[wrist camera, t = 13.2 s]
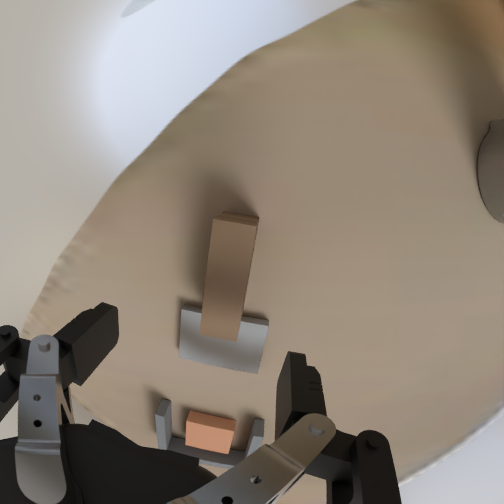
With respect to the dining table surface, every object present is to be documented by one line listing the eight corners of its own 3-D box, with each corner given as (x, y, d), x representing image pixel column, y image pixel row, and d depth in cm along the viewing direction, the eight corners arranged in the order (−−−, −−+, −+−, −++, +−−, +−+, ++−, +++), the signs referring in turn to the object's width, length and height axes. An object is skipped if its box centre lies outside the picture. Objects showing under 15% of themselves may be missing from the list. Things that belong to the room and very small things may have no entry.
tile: (190, 408, 26) (186, 420, 24) (236, 418, 26) (234, 431, 24) (189, 432, 27) (185, 444, 25) (230, 441, 27) (228, 454, 25)
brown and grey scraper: (195, 206, 20) (178, 213, 16) (289, 223, 20) (293, 233, 16) (181, 351, 24) (168, 378, 20) (258, 366, 24) (255, 396, 20)
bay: (162, 398, 25) (154, 414, 23) (264, 420, 25) (263, 437, 23) (164, 438, 28) (159, 452, 25) (251, 456, 27) (250, 471, 25)
